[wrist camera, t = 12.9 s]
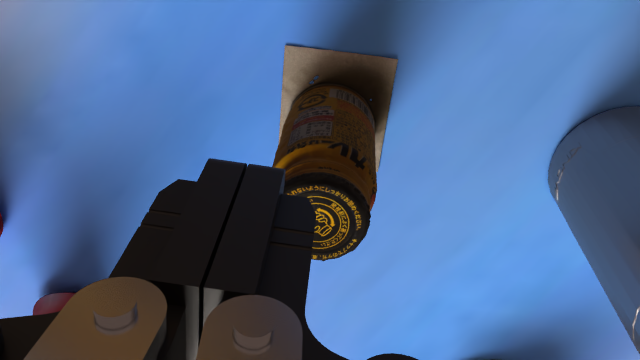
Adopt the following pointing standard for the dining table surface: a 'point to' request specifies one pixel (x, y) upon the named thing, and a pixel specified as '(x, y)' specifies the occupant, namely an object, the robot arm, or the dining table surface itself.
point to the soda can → (1, 225)
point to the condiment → (334, 139)
